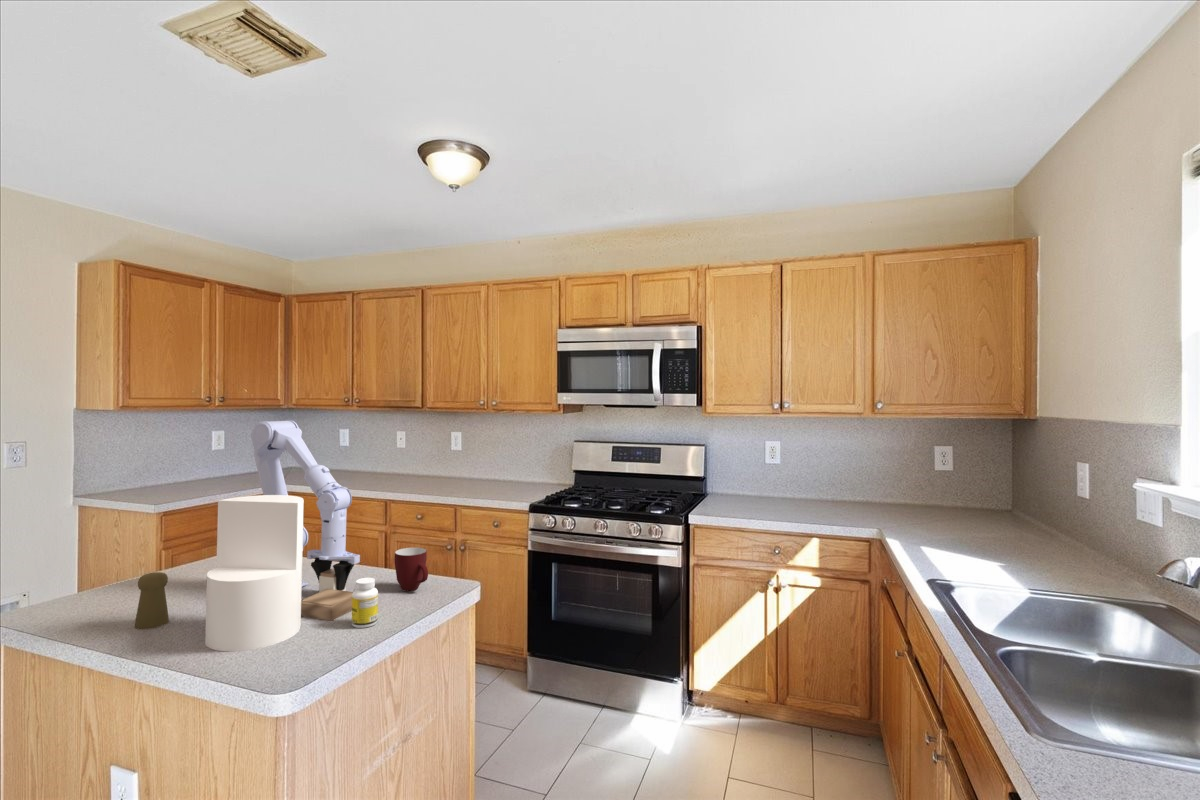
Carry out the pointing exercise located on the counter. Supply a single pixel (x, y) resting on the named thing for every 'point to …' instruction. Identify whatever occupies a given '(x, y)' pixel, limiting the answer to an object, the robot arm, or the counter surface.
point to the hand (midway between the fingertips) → (332, 589)
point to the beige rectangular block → (328, 580)
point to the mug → (411, 567)
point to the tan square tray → (327, 604)
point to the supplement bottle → (365, 603)
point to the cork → (152, 601)
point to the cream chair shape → (255, 573)
